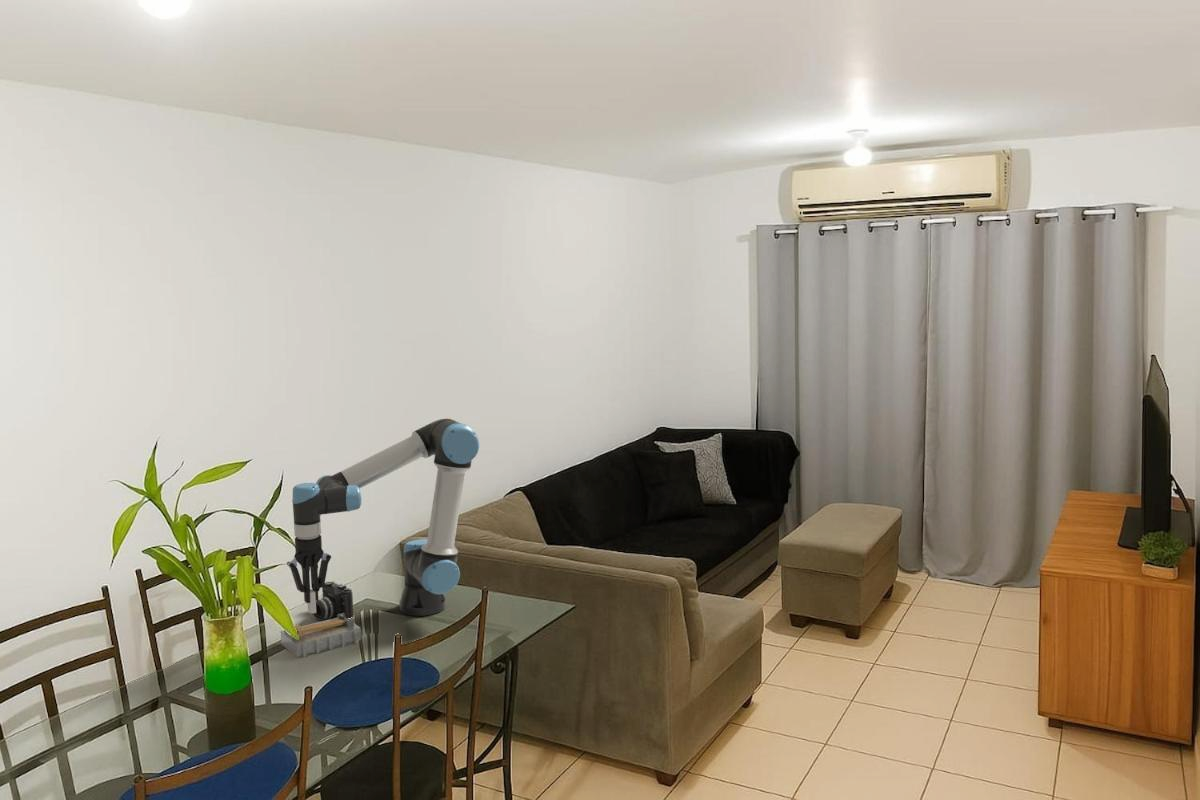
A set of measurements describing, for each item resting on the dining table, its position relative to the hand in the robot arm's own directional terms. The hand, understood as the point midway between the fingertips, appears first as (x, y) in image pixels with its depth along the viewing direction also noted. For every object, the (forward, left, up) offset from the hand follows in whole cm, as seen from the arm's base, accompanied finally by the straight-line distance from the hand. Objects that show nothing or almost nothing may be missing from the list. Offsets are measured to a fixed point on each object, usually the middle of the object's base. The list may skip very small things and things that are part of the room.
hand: (312, 611), depth 278 cm
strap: (-3, 0, -6) cm, 6 cm away
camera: (-14, -18, -11) cm, 25 cm away
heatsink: (-3, 0, -10) cm, 11 cm away
